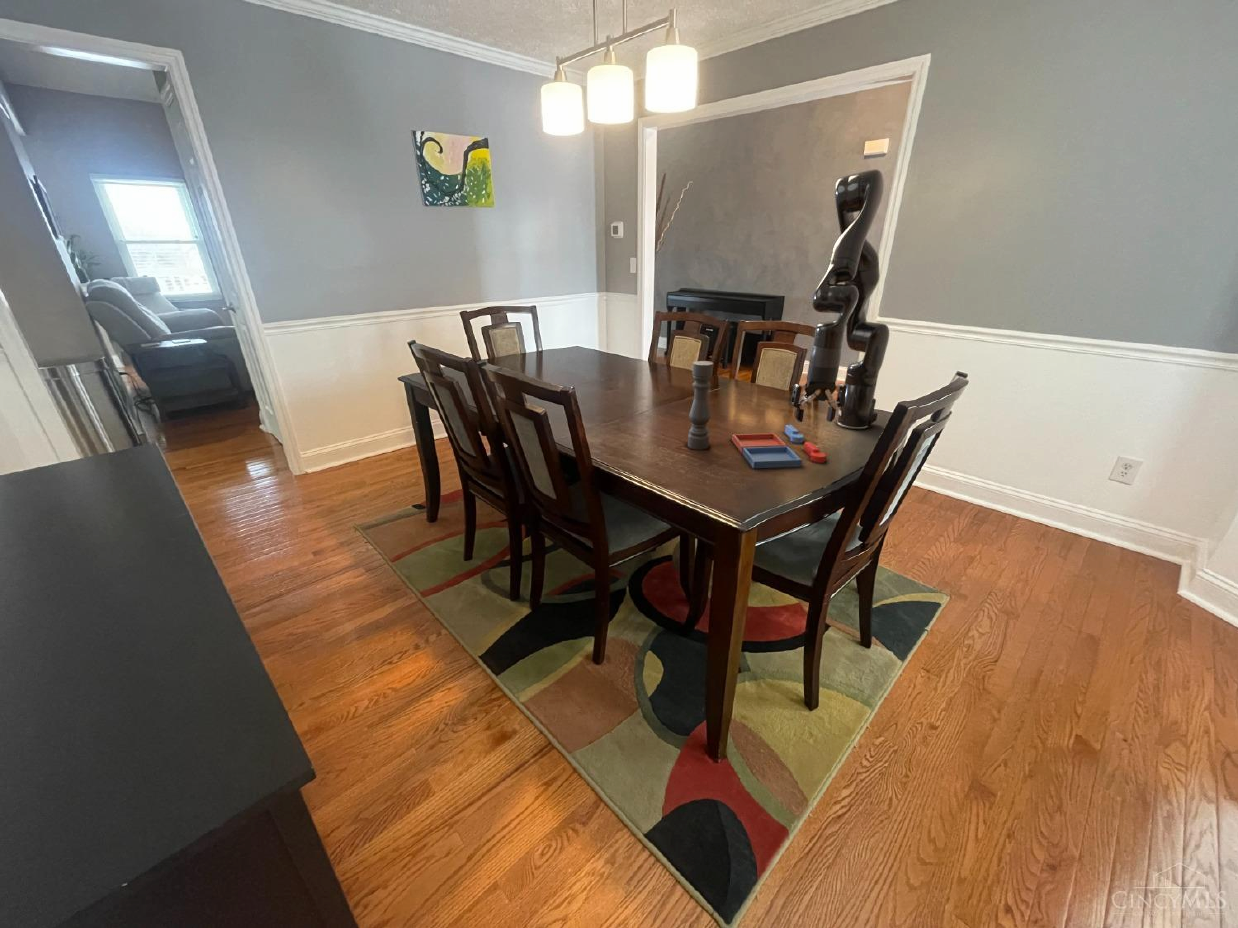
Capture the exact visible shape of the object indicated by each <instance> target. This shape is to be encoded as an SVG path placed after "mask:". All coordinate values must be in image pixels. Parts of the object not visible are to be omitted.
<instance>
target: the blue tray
mask: <svg viewBox="0 0 1238 928" xmlns="http://www.w3.org/2000/svg"><path fill="white" fill-rule="evenodd" d="M741 454H742V455H743V457H744V459H745V460H746V461H747V462H748V463H749V465H750V466H751V467H752V469H771V468H772V469H775V468H777V469H778V468H801V467H802V464H803V459H802V458H801V457H800V456H799V455H798V454H797V453H796V452H795V451H794V450H793V449H791V447H790V446H788V445H787V446H781V447H749V448H743V453H741Z"/></svg>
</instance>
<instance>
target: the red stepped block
mask: <svg viewBox="0 0 1238 928" xmlns="http://www.w3.org/2000/svg"><path fill="white" fill-rule="evenodd" d="M803 445H804V446H803V451H804V452H805V453H806V454H807V455H808V456H809V457H810V461H811V462H814V463H819V464H820V463H821V464H822V463H825V462H826V457H827V454H826V453H824V452H821V451H820V448H819V447H818V446H817V445H815V444H814V443H813V442H812V441H805V442H804V444H803Z"/></svg>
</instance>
